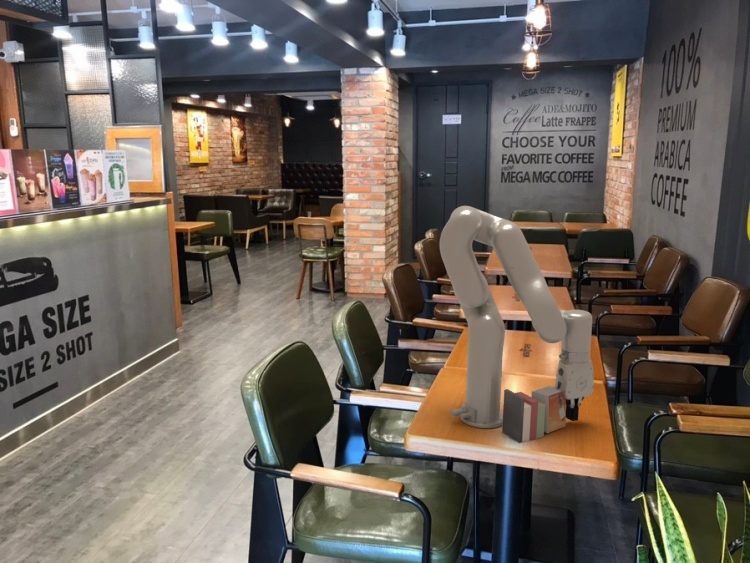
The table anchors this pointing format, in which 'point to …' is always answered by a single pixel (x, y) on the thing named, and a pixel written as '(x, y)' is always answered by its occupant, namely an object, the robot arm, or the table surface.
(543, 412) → the book row
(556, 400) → the small box
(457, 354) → the table surface
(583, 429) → the table surface
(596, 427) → the table surface
